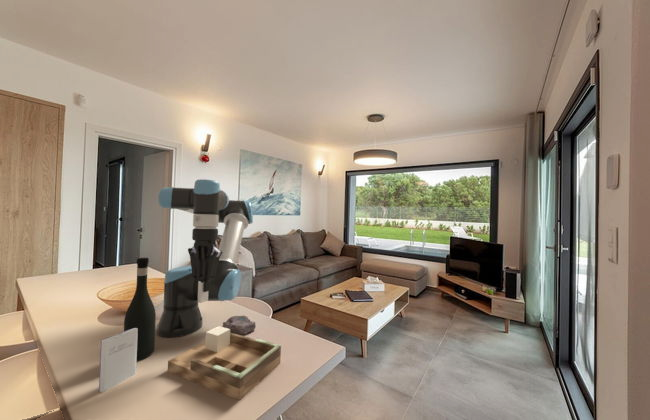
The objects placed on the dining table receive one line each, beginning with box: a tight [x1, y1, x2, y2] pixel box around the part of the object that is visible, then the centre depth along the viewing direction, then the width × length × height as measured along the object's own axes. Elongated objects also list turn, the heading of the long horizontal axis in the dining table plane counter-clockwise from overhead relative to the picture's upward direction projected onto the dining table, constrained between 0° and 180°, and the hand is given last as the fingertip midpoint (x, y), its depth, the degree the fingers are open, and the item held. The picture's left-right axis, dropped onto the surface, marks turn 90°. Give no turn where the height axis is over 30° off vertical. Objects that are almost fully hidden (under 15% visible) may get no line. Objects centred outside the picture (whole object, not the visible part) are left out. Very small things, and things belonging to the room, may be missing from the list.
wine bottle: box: [123, 257, 157, 361], centre depth 81 cm, size 8×8×30 cm
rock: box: [222, 315, 256, 335], centre depth 98 cm, size 8×11×5 cm
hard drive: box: [98, 328, 138, 393], centre depth 68 cm, size 2×8×12 cm, turn 159°
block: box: [204, 325, 230, 352], centre depth 81 cm, size 5×5×5 cm
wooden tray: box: [167, 332, 282, 401], centre depth 75 cm, size 26×17×6 cm, turn 66°
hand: (202, 301), depth 84 cm, fingers closed
